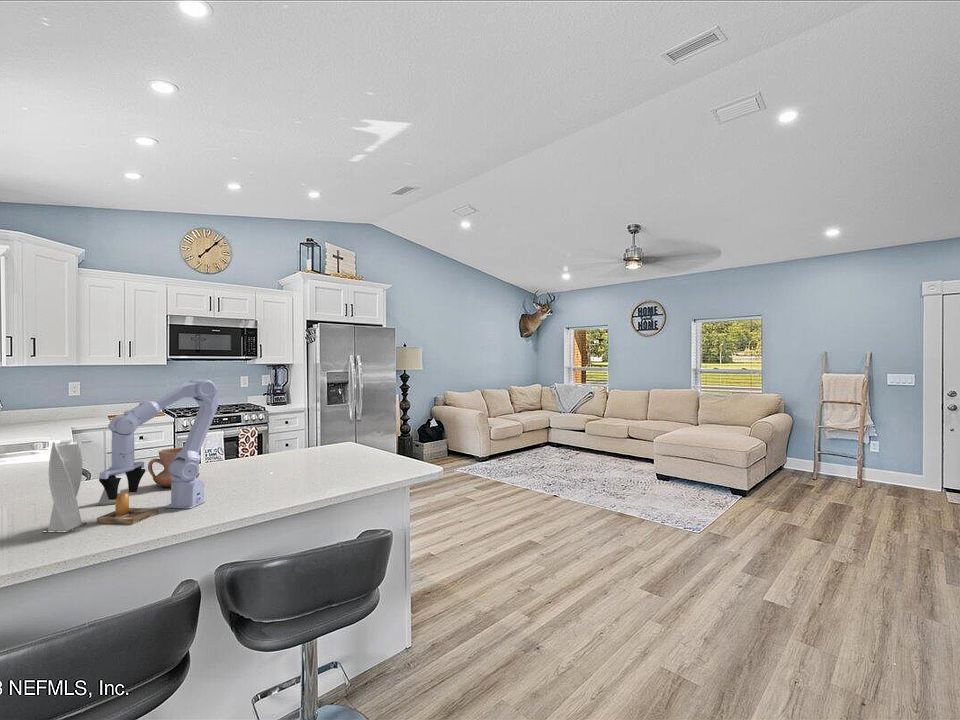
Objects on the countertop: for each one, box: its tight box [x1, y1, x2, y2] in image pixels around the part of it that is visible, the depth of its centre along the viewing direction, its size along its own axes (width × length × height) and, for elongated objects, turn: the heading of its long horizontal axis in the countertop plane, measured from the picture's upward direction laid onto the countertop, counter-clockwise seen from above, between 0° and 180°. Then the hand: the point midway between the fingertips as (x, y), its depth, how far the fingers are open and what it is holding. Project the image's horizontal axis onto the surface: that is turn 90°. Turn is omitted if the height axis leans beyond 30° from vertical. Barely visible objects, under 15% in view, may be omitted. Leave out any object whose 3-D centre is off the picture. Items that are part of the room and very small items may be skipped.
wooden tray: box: [96, 507, 159, 525], centre depth 147 cm, size 12×10×2 cm
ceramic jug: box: [147, 446, 202, 488], centre depth 185 cm, size 18×14×14 cm
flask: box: [97, 475, 122, 506], centre depth 162 cm, size 7×7×10 cm
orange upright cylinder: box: [114, 491, 130, 517], centre depth 146 cm, size 3×3×8 cm
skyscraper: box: [43, 434, 88, 533], centre depth 137 cm, size 8×8×28 cm
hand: (123, 495), depth 146 cm, fingers open, 7 cm apart
